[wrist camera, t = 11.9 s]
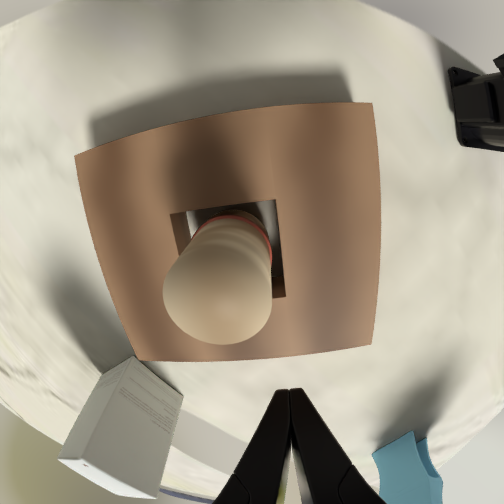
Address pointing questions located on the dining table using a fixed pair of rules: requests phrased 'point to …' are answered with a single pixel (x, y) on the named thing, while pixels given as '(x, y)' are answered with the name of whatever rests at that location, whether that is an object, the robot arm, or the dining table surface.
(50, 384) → the dining table surface
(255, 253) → the beech peg
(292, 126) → the walnut board
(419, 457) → the vase
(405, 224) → the dining table surface
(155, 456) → the supplement box
